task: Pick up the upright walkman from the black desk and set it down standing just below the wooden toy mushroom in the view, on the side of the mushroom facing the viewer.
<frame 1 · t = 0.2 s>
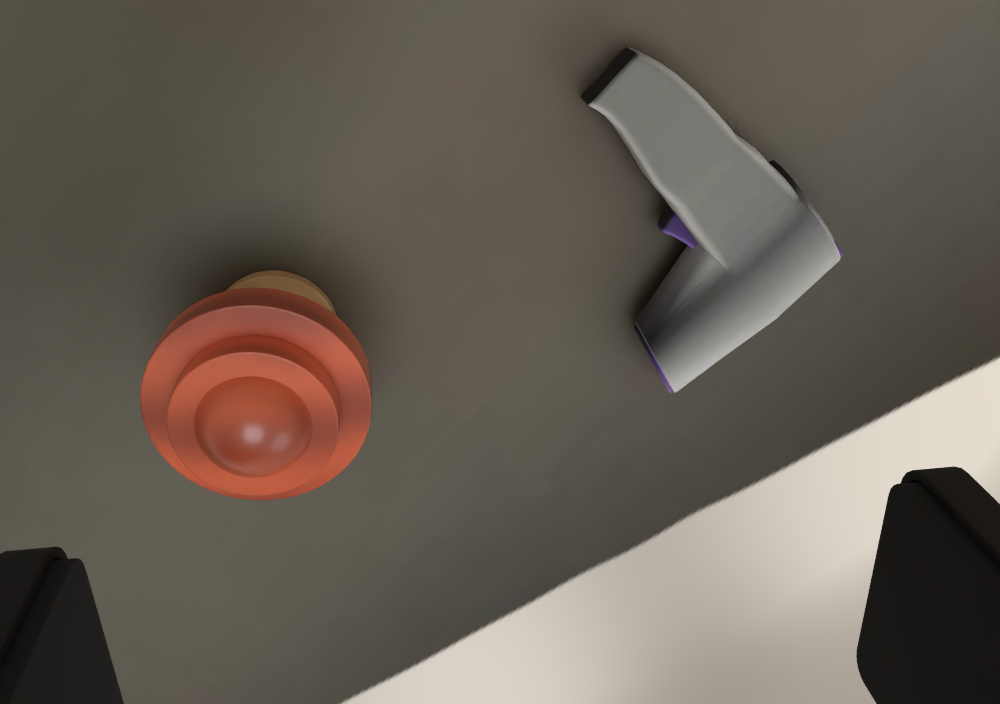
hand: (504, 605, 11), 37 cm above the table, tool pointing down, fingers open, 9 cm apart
mushroom: (276, 326, 48), on the table
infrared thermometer: (652, 215, 48), on the table
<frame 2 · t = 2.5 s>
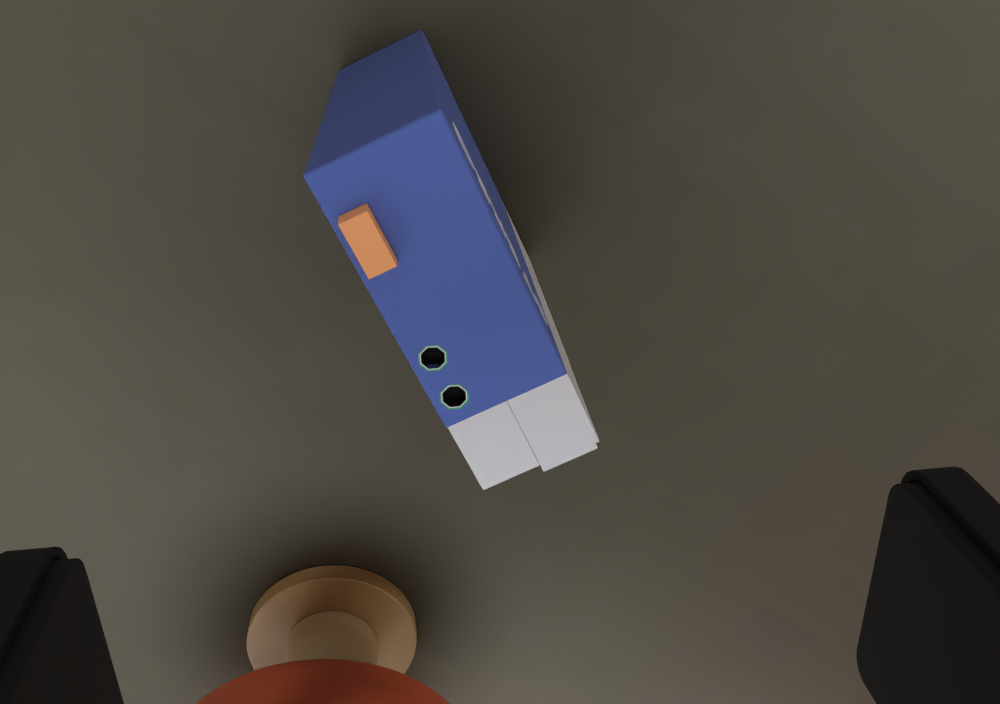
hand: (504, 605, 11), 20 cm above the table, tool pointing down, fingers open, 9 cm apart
walkman: (439, 165, 28), on the table
mushroom: (333, 630, 36), on the table
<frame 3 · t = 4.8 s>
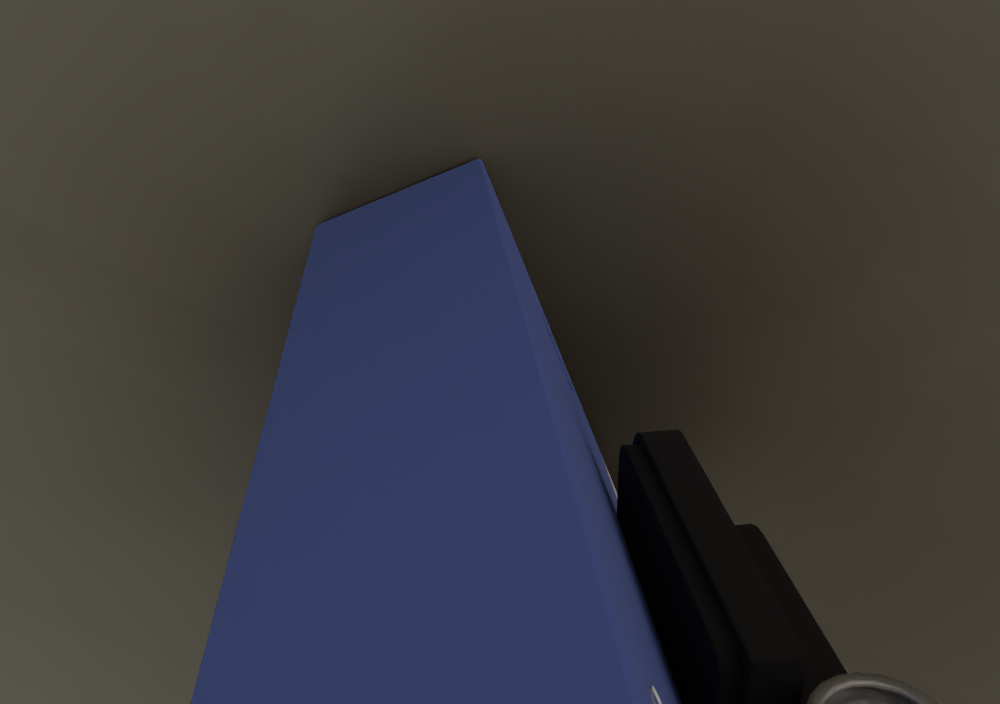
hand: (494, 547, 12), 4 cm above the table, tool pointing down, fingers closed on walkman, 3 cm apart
walkman: (492, 385, 16), on the table, touching gripper
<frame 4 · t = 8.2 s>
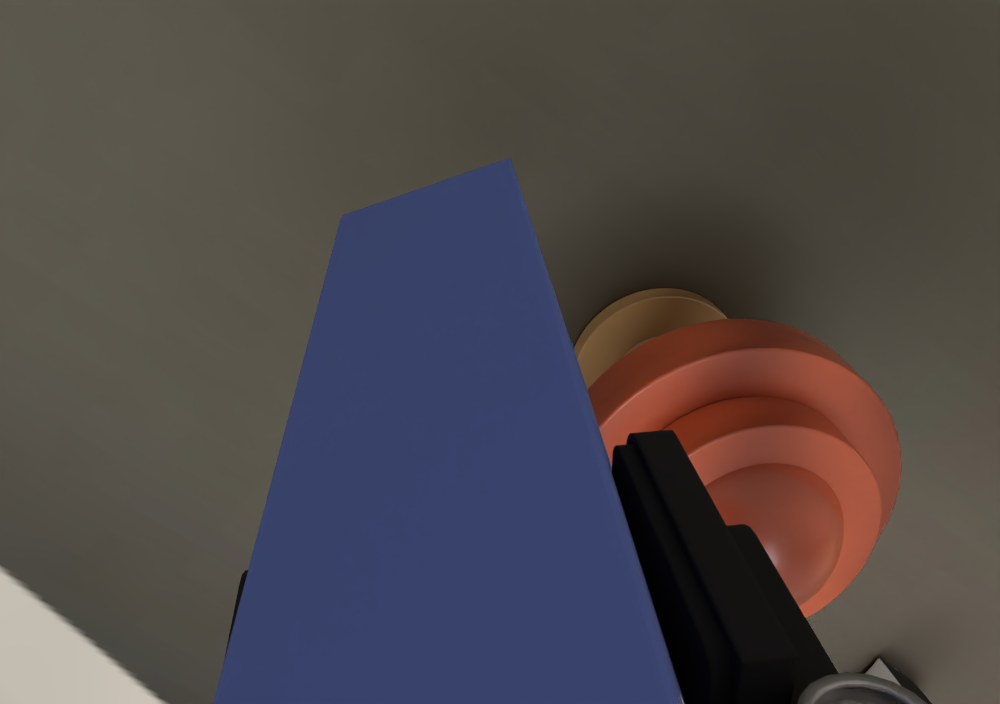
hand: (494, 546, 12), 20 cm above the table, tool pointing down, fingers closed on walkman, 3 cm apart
walkman: (505, 385, 16), point 15 cm above the table, touching gripper
mushroom: (653, 367, 34), on the table
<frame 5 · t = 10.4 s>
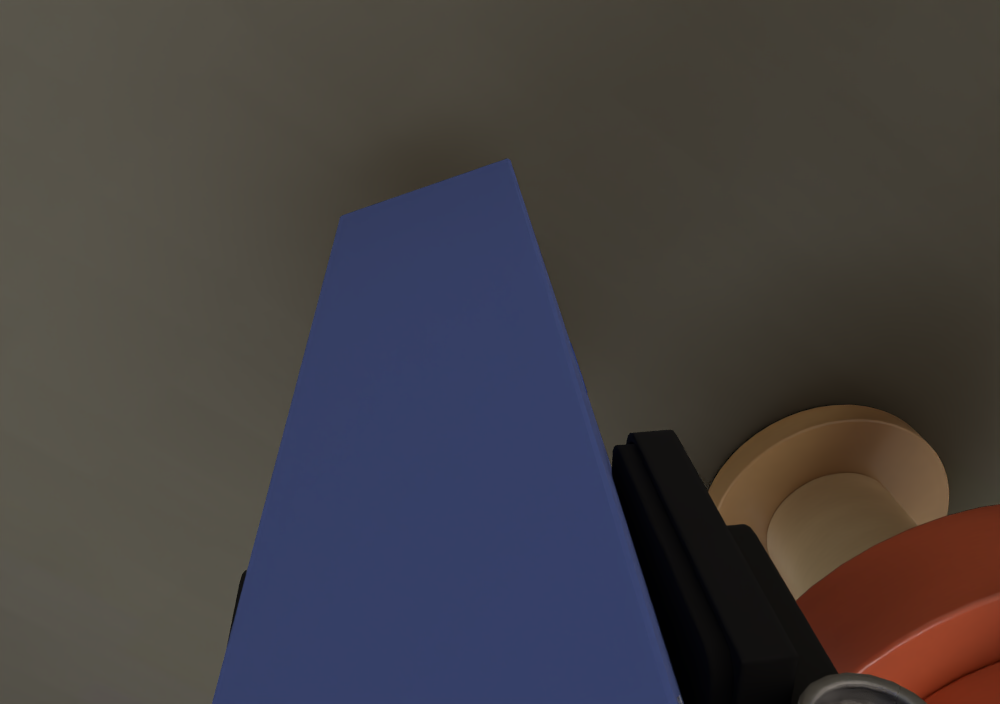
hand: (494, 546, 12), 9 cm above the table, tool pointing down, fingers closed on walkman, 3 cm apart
walkman: (504, 385, 16), point 5 cm above the table, touching gripper
mushroom: (816, 508, 24), on the table
when the fingers open (4 cm above the table, at t = 11.8 s): walkman stays where it is, on the table.
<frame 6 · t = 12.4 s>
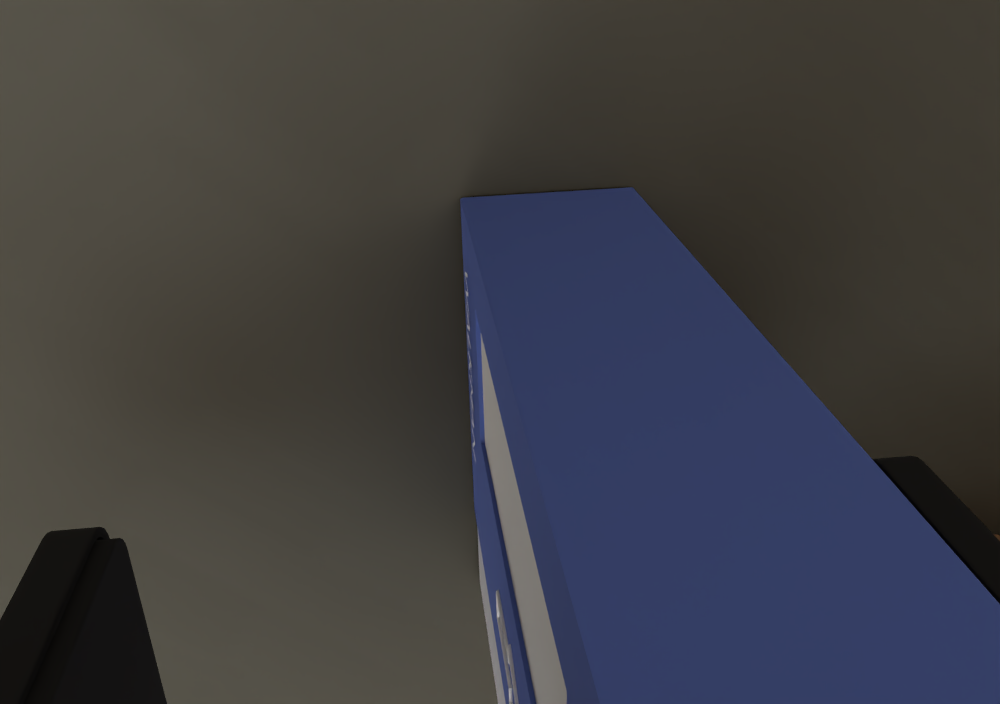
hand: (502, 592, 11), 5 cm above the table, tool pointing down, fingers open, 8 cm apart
walkman: (549, 400, 16), on the table
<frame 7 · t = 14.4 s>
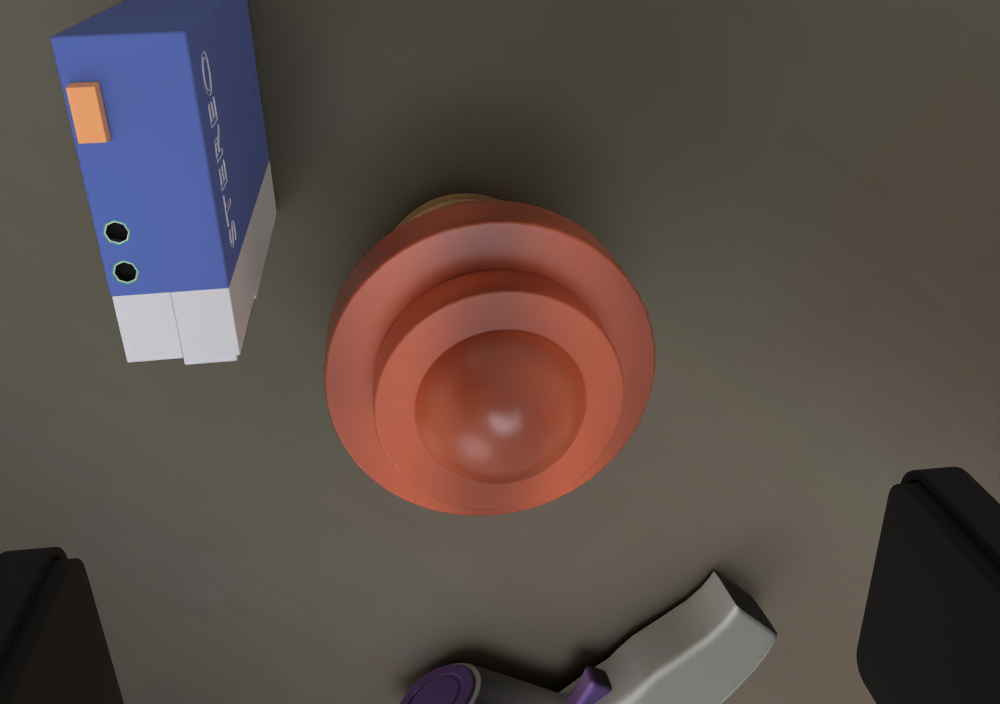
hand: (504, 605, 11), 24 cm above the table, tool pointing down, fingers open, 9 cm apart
walkman: (223, 102, 31), on the table
mushroom: (463, 273, 35), on the table
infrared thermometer: (579, 644, 45), on the table
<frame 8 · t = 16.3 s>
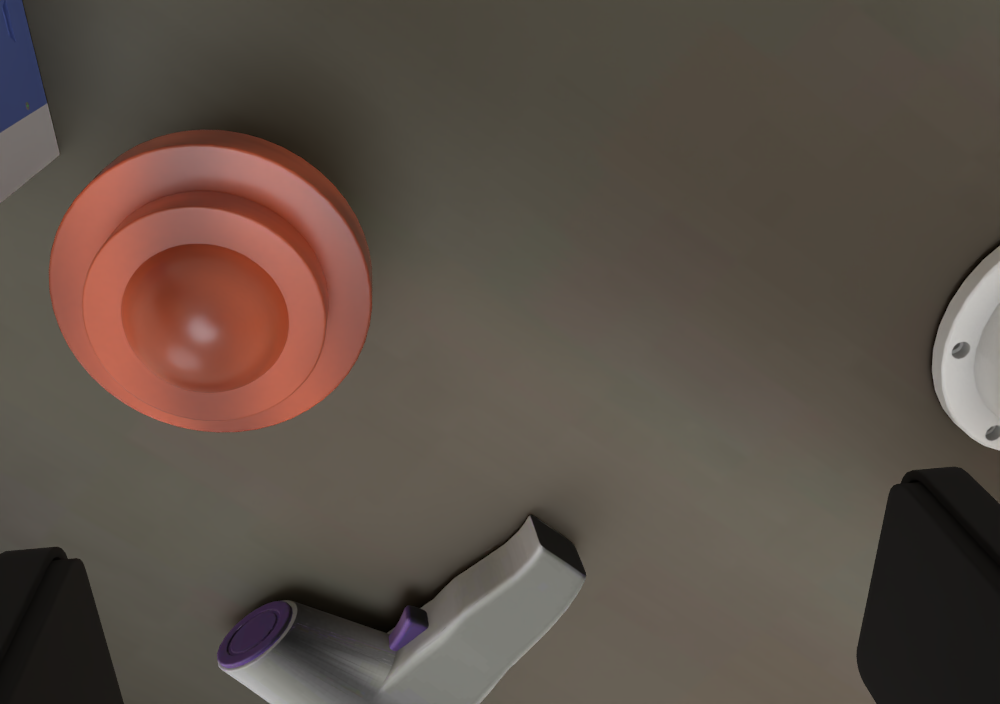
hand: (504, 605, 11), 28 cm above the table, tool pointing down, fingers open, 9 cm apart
mushroom: (248, 216, 37), on the table
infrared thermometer: (405, 586, 47), on the table
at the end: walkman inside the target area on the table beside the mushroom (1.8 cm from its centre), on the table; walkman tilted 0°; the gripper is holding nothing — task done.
